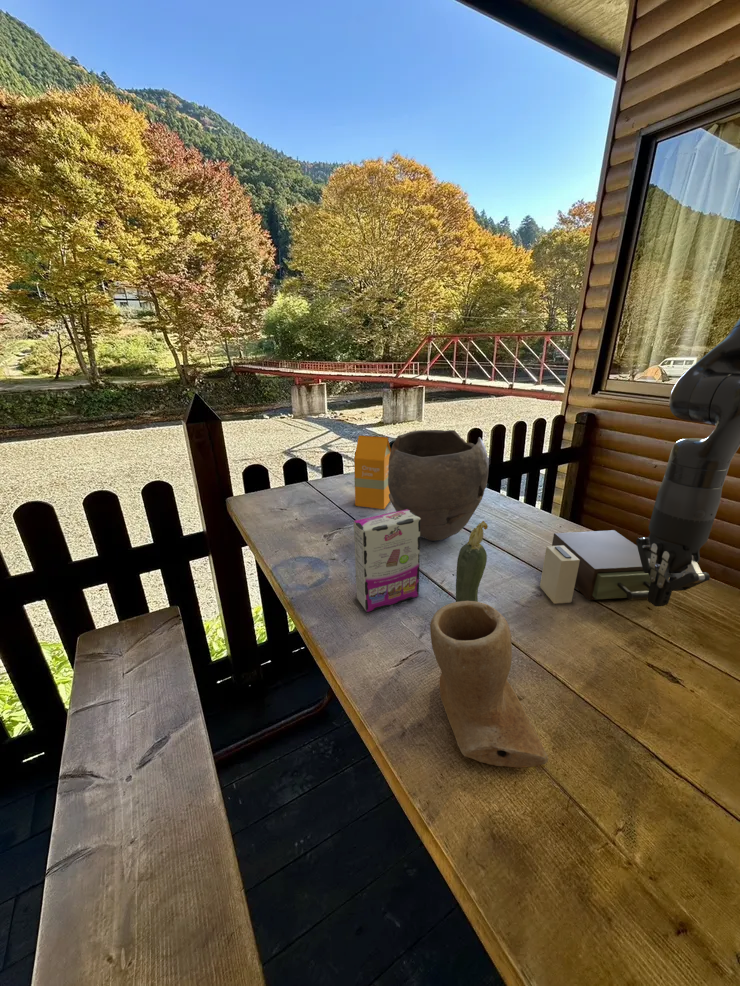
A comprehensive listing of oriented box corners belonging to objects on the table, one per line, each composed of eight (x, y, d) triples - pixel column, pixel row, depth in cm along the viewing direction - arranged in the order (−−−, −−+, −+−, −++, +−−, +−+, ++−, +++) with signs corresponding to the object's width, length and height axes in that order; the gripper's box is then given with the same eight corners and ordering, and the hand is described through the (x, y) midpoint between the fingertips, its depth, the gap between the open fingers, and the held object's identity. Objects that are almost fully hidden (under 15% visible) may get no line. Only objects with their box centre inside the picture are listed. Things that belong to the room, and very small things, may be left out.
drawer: (677, 609, 72) (685, 586, 70) (610, 614, 71) (616, 590, 69) (612, 558, 88) (617, 538, 87) (557, 561, 87) (561, 541, 86)
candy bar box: (405, 583, 81) (408, 507, 76) (419, 597, 77) (422, 517, 71) (354, 598, 77) (352, 519, 71) (365, 613, 73) (364, 530, 67)
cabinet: (656, 595, 77) (665, 565, 75) (588, 599, 76) (595, 569, 74) (608, 556, 91) (614, 530, 88) (549, 559, 90) (553, 532, 87)
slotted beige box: (556, 585, 80) (563, 543, 77) (571, 602, 75) (580, 558, 72) (539, 586, 80) (546, 544, 77) (553, 603, 75) (562, 559, 72)
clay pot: (490, 526, 105) (501, 430, 96) (466, 571, 85) (476, 456, 76) (404, 510, 116) (407, 422, 107) (365, 546, 96) (363, 442, 87)
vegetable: (451, 635, 67) (460, 525, 60) (452, 619, 71) (461, 514, 64) (478, 639, 66) (491, 528, 59) (478, 622, 70) (490, 516, 63)
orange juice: (384, 509, 116) (384, 440, 109) (354, 505, 119) (353, 438, 112) (391, 499, 123) (392, 434, 116) (363, 496, 126) (362, 432, 118)
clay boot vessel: (418, 676, 59) (422, 588, 54) (498, 671, 60) (510, 584, 55) (444, 782, 45) (453, 678, 40) (548, 774, 46) (571, 670, 41)
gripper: (748, 526, 56) (710, 628, 63) (674, 492, 69) (649, 580, 75) (696, 528, 56) (664, 631, 62) (631, 493, 68) (610, 582, 74)
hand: (656, 603), depth 68 cm, fingers closed
